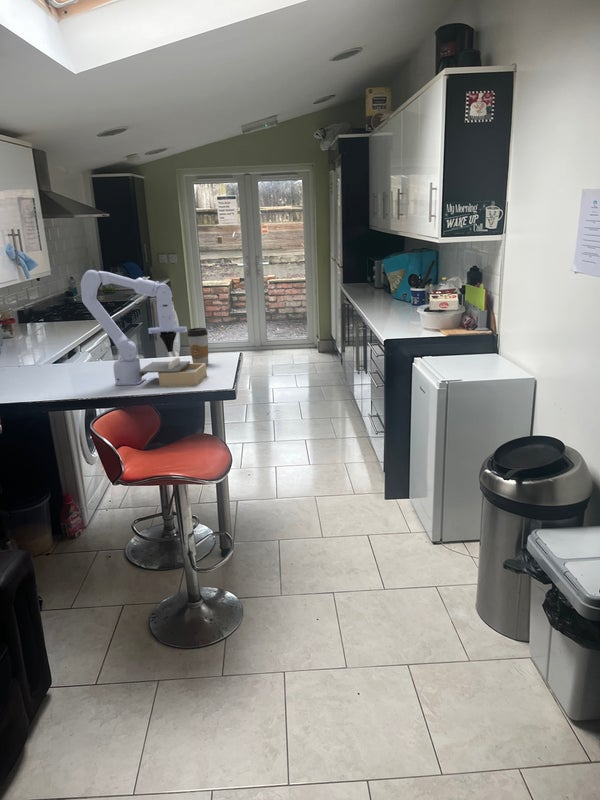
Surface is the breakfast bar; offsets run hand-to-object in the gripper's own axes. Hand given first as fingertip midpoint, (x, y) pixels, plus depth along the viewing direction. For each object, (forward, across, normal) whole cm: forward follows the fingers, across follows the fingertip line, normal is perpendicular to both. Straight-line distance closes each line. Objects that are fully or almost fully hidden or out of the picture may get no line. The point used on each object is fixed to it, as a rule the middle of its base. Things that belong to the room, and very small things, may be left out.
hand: (170, 351), depth 232 cm
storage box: (+10, -6, +5) cm, 13 cm away
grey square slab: (+7, +1, +5) cm, 9 cm away
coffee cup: (+11, -5, -21) cm, 24 cm away
